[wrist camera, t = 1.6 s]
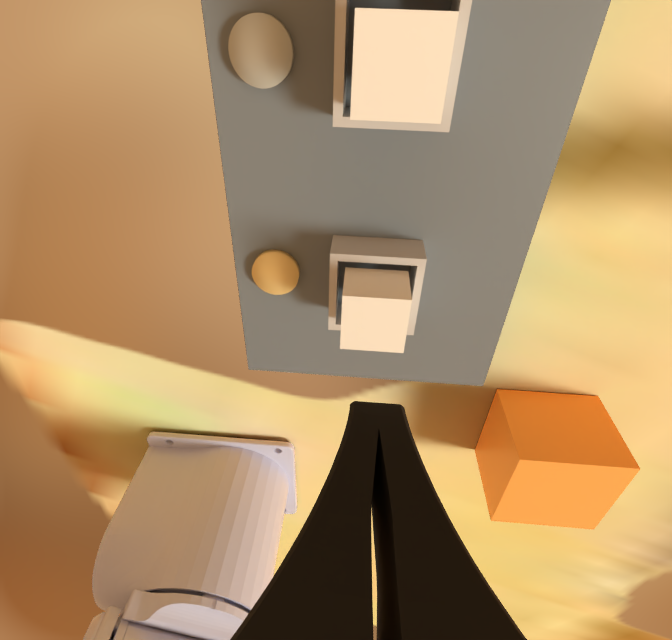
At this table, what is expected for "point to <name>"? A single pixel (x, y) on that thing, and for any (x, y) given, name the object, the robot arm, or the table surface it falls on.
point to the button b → (401, 64)
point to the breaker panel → (388, 176)
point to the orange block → (551, 459)
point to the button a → (375, 310)
